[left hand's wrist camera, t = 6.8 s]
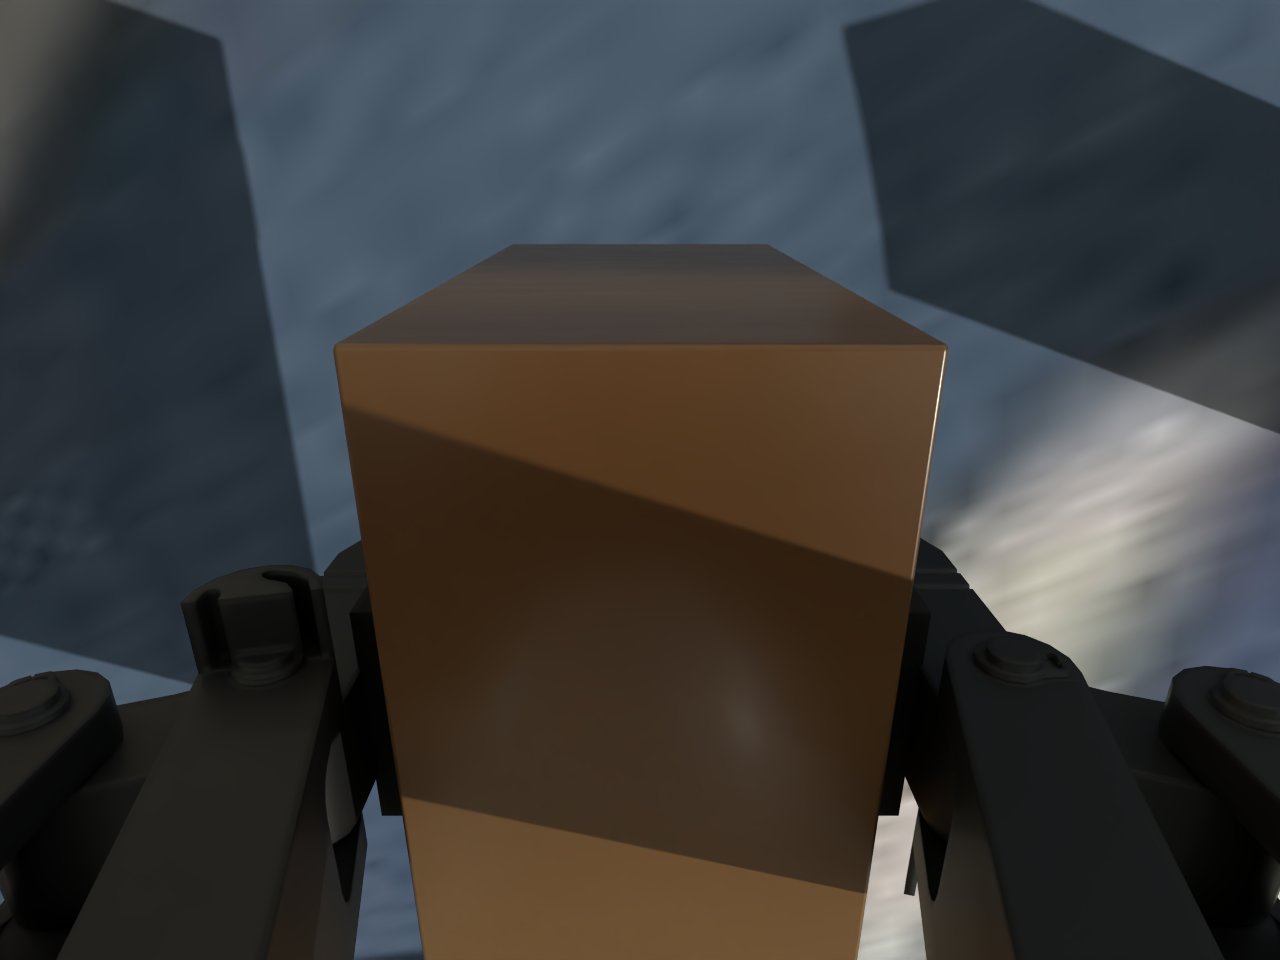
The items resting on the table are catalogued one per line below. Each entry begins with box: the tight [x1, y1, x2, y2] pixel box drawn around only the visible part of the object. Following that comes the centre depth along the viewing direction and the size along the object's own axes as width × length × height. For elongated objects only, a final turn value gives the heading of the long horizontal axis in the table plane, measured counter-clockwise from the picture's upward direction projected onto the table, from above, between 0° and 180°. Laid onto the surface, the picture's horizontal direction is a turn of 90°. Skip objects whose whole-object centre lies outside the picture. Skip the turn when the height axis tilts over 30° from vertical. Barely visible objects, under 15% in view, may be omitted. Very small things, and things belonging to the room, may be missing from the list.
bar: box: [333, 244, 948, 960], centre depth 14 cm, size 23×4×8 cm, turn 0°
